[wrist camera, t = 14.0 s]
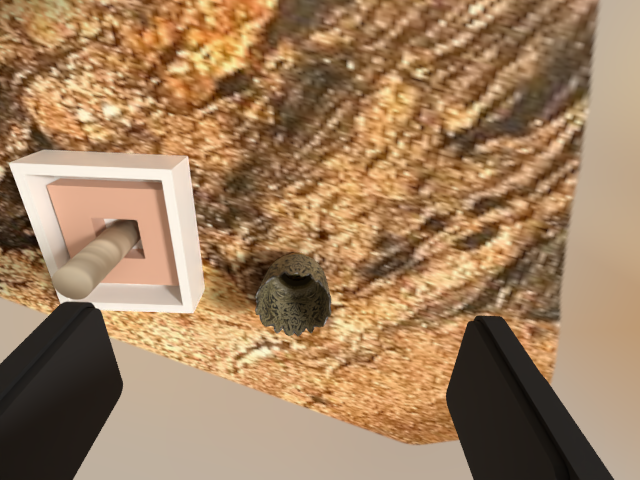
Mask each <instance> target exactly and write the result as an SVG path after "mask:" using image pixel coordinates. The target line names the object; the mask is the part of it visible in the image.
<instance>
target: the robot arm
mask: <svg viewBox="0 0 640 480" xmlns="http://www.w3.org/2000/svg"><path fill="white" fill-rule="evenodd" d="M122 389H123V381H122V378H121V375H120V371H119V368H118V365H117V362H116V358H115V355H114V352H113V349H112V345H111V342H110V339H109V336H108V332H107V329H106V326H105V323H104V319H103V316H102V313H101V311H100V310H99V309H98V308H95V306H94V305H93V304H92V303H90V302H70V301H66V302H63V303H62V304H60V305H59V306H58V307H57V308H56V309H55V310H54V311H53V312H52V313H51V314H50V315H49V316H48V317H47V318H46V319H45V320H44V321H43V322H42V323H41V324H40V325H39V326H38V327H37V328H36V329H35V330H34V331H33V332H32V333H31V334H30V335H29V336H28V337H27V338H26V339H25V340H24V341H23V342H22V343H21V344H20V345H19V346H18V347H17V348H16V349H15V350H14V351H13V352H12V353H11V354H10V355H9V356H8V357H7V358H6V359H5V360H4V361H3V362H2V363H1V364H0V480H73V478H74V476H75V475H76V473H77V471H78V469H79V468H80V466H81V464H82V462H83V461H84V459H85V457H86V455H87V454H88V452H89V450H90V448H91V446H92V445H93V443H94V441H95V440H96V438H97V436H98V434H99V433H100V431H101V429H102V427H103V426H104V424H105V422H106V420H107V419H108V417H109V415H110V413H111V411H112V410H113V408H114V406H115V405H116V403H117V401H118V399H119V397H120V395H121V393H122ZM446 401H447V406H448V409H449V412H450V415H451V417H452V420H453V423H454V426H455V429H456V431H457V434H458V437H459V440H460V443H461V445H462V448H463V451H464V454H465V457H466V459H467V462H468V465H469V468H470V471H471V473H472V476H473V479H474V480H614V479H613V477H612V476H611V474H610V473H609V471H608V470H607V468H606V467H605V466H604V464H603V462H602V461H601V459H600V458H599V457H598V455H597V454H596V452H595V451H594V449H593V448H592V446H591V445H590V443H589V442H588V441H587V439H586V437H585V436H584V434H583V433H582V432H581V430H580V429H579V427H578V426H577V424H576V423H575V421H574V420H573V418H572V417H571V415H570V414H569V413H568V411H567V409H566V408H565V407H564V405H563V404H562V402H561V401H560V399H559V398H558V396H557V395H556V393H555V392H554V390H553V389H552V387H551V386H550V384H549V383H548V382H547V380H546V379H545V378H544V377H543V375H542V374H541V373H540V371H539V370H538V369H537V367H536V366H535V364H534V363H533V361H532V360H531V358H530V357H529V355H528V354H527V352H526V351H525V349H524V348H523V346H522V345H521V343H520V342H519V340H518V339H517V337H516V336H515V335H514V333H513V332H512V330H511V329H510V327H509V326H508V324H507V323H506V321H505V320H504V319H503V318H502V317H500V316H476V317H475V319H474V321H469V322H468V324H467V327H466V330H465V333H464V336H463V340H462V343H461V346H460V349H459V353H458V356H457V359H456V362H455V366H454V369H453V372H452V375H451V379H450V382H449V385H448V389H447V392H446Z"/></svg>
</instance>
